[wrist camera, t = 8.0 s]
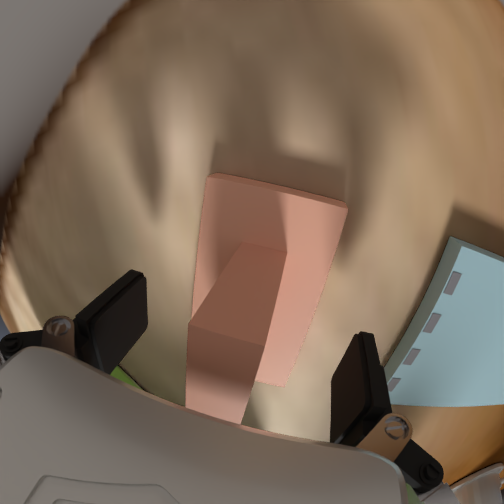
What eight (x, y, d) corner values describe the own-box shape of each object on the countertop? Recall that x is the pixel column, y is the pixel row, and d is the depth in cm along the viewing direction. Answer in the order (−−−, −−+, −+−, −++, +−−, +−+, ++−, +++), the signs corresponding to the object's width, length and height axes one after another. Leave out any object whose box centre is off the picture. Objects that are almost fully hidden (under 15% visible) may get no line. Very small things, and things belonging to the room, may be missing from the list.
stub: (344, 201, 12) (381, 278, 5) (287, 371, 17) (268, 474, 10) (217, 172, 13) (119, 213, 6) (196, 346, 17) (147, 436, 11)
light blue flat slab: (571, 290, 10) (580, 299, 8) (507, 392, 14) (512, 403, 13) (449, 236, 11) (462, 246, 10) (370, 386, 16) (372, 402, 15)
